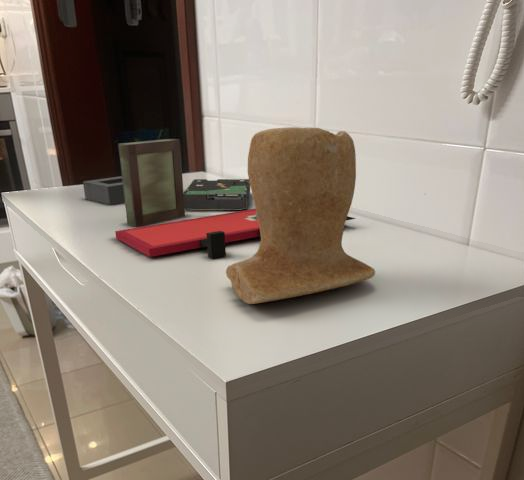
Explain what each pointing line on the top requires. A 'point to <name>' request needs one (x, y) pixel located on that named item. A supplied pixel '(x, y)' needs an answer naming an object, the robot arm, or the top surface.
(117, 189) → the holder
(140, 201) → the picture frame
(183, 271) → the top surface
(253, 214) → the red board with handle
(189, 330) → the top surface
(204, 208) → the disk drive
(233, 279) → the brown stone sculpture
